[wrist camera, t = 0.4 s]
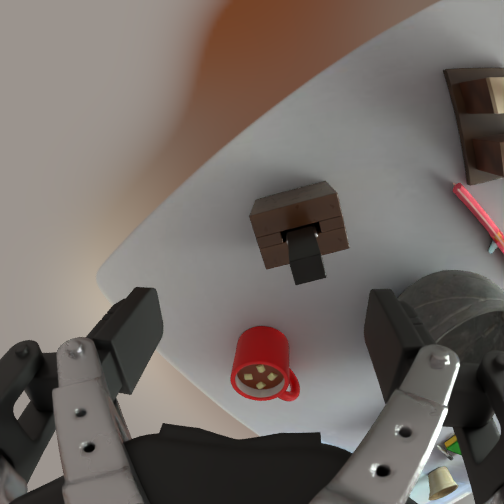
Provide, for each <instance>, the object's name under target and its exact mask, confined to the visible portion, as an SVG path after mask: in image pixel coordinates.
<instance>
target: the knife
mask: <svg viewBox="0 0 504 504" xmlns="http://www.w3.org/2000/svg"><path fill="white" fill-rule="evenodd" d="M437 448H438V449H439V450H440V451H441V452H442V453H444V454H445V455H446V457H447V458H449V459H450V460H453V457H452V455H450V454H448V453H447V450H444V449H443V448H442V447H440V446H437Z"/></svg>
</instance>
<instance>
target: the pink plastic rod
mask: <svg viewBox="0 0 504 504" xmlns="http://www.w3.org/2000/svg"><path fill="white" fill-rule="evenodd" d="M453 184H454V188H453V192H454V193H455V194H456V195H457V196H458V198H459V199H460V200H461V201H462V202H463V203H464V204H465V205H466V206H467V208H468V209H469V210H470V211H471V212H472V213H473V214H474V216H475V217H476V218H477V219H478V220H479V221H480V223H481V224H482V225H483V226H484V227H485V229H486V230H487V231H488V232H489V234H490V236H491V237H492V239H493V240H494V241H495V242H494V241H492V243H491V245H490V248H489V249H488V251H489V253H491V254H492V253H493V251H494V250H495V249H496V248H497V247H499V248H500V250H501V251H502V252H503V253H504V236H503V234H502V232H501V231H500V230H499V228H498V227H497V226H496V225H495V224H494V222H493V221H492V220H491V218H490V217H489V216H488V215H487V213H486V212H485V211H484V210H483V208H482V207H481V206H480V205H479V204H478V202H477V201H476V200H475V199H474V198H473V197H472V195H471V194H470V193H469V192H468V191H467V190H466V189H465V187H464V186H463V185H462V184H461V183H457V184H455V183H453Z"/></svg>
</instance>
